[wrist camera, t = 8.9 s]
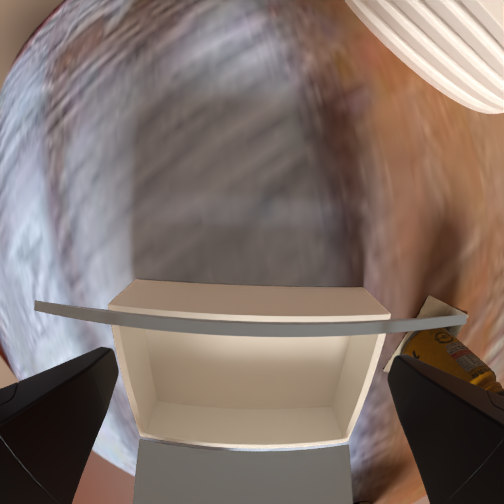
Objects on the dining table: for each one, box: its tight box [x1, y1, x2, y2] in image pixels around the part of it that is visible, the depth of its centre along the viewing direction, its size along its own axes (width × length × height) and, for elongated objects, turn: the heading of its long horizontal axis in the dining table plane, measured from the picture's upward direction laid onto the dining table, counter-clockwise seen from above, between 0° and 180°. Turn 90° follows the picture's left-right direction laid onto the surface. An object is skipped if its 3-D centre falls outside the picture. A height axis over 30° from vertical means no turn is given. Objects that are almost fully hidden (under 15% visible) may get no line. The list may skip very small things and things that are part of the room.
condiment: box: [383, 295, 504, 397], centre depth 17 cm, size 7×8×12 cm
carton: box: [108, 279, 391, 448], centre depth 20 cm, size 13×18×5 cm
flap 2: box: [133, 439, 353, 504], centre depth 16 cm, size 7×18×1 cm
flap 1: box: [34, 300, 466, 337], centre depth 12 cm, size 7×18×1 cm
